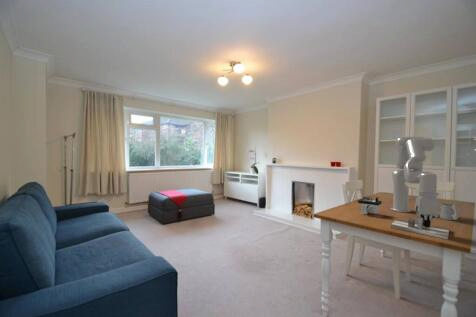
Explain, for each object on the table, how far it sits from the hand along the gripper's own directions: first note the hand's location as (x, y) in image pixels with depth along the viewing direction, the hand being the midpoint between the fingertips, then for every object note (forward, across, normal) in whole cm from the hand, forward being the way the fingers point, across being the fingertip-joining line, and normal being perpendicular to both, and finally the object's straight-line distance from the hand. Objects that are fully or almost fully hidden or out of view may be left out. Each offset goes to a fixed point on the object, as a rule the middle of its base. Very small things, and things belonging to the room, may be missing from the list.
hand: (426, 226), depth 128 cm
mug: (+4, -28, -30) cm, 41 cm away
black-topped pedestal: (+4, +19, -33) cm, 38 cm away
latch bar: (+1, +2, -3) cm, 3 cm away
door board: (+3, +2, -4) cm, 5 cm away
